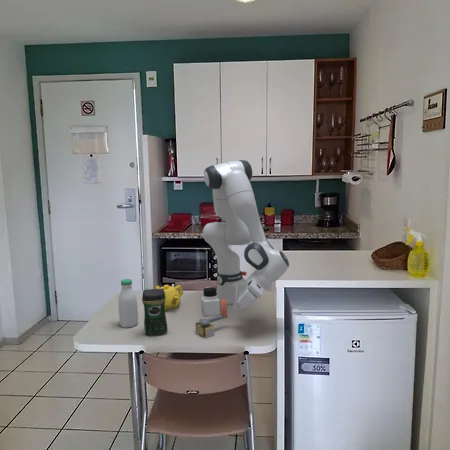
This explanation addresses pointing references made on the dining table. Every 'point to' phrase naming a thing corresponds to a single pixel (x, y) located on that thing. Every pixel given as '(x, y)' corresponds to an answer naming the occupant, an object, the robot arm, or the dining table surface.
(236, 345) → the dining table surface
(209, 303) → the medicine bottle
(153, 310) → the coffee jar
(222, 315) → the lever
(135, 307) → the milk bottle
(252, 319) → the dining table surface
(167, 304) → the teapot
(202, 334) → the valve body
